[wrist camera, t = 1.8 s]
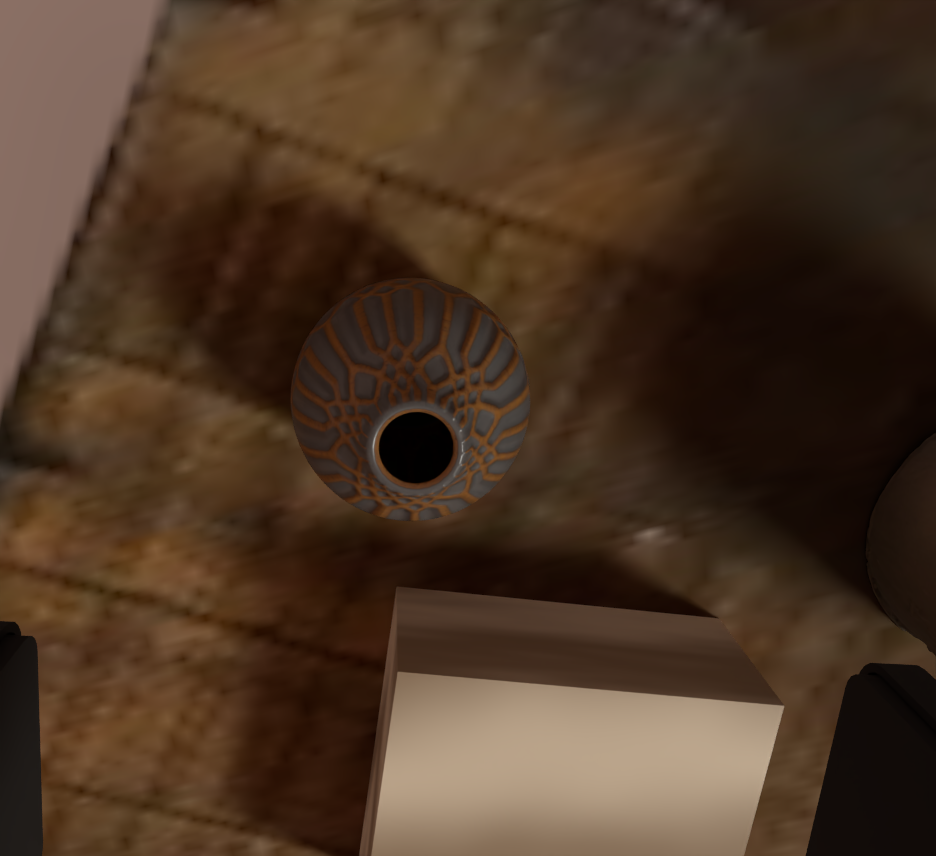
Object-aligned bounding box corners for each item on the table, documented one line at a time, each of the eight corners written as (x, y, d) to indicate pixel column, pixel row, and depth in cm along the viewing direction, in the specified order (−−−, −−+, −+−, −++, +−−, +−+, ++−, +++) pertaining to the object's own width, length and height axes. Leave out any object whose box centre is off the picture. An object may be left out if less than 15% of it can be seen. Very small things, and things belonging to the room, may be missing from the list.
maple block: (396, 583, 32) (397, 671, 26) (716, 614, 33) (784, 706, 28) (357, 862, 35) (350, 997, 29) (652, 880, 36) (701, 1012, 31)
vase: (539, 301, 29) (598, 352, 21) (476, 493, 31) (509, 610, 23) (333, 239, 28) (310, 266, 20) (280, 441, 30) (237, 544, 21)
